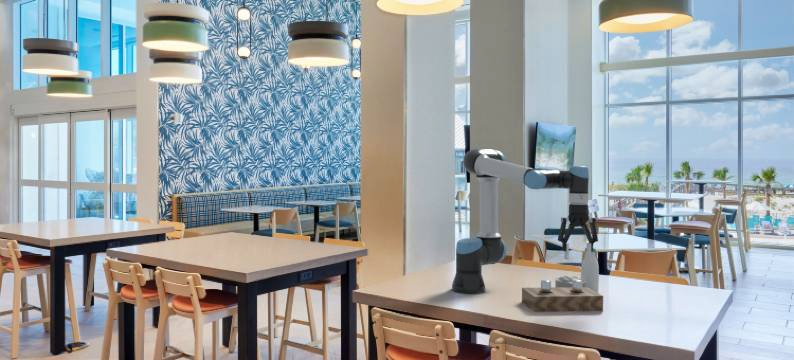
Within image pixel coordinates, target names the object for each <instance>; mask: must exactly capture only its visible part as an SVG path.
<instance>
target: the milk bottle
mask: <svg viewBox="0 0 794 360" xmlns="http://www.w3.org/2000/svg"><path fill="white" fill-rule="evenodd" d="M596 250H597V249H596V247H593V251H591V260H589V259H587V258H586V255H587V247H585V248H584V253H585V255H584V258H583V260H582V262H581V267H580V279H582V280H583V281H586V282H587V283H586V287H587V288H589V289H591V290H593V291H595V292H597V293H599V283H600V282H599V281H600V274H599V273H600V271H599V270H600V269H599V268H600V267H599V263H598V259H597V258H596Z"/></svg>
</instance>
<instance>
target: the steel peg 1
mask: <svg viewBox="0 0 794 360" xmlns="http://www.w3.org/2000/svg"><path fill="white" fill-rule="evenodd" d="M540 288H541V293H551V288H552V280H550V279H541V281H540Z"/></svg>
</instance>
